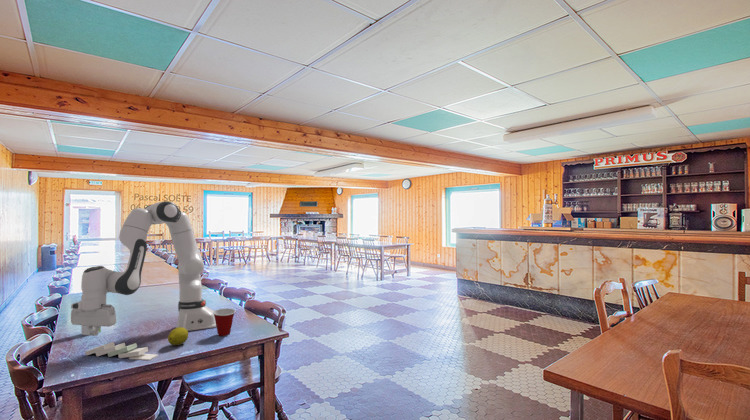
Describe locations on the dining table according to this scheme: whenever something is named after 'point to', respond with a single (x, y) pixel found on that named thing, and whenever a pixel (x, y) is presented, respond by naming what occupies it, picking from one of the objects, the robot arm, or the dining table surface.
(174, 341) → the lemon
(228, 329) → the plastic cup
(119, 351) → the domino
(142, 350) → the domino
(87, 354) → the domino
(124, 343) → the domino
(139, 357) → the domino
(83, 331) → the syrup box
